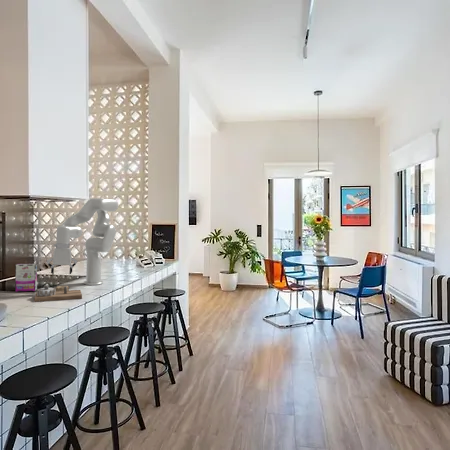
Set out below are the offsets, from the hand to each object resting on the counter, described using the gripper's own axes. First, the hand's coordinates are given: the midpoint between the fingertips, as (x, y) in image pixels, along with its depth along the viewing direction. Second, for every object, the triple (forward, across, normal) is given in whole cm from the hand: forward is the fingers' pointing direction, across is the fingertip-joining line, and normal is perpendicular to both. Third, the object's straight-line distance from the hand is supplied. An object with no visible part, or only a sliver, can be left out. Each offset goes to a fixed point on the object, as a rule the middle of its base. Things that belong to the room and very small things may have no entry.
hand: (61, 274), depth 220 cm
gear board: (+11, -1, -13) cm, 17 cm away
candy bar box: (+11, -19, +10) cm, 24 cm away
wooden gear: (+11, +1, +1) cm, 11 cm away
